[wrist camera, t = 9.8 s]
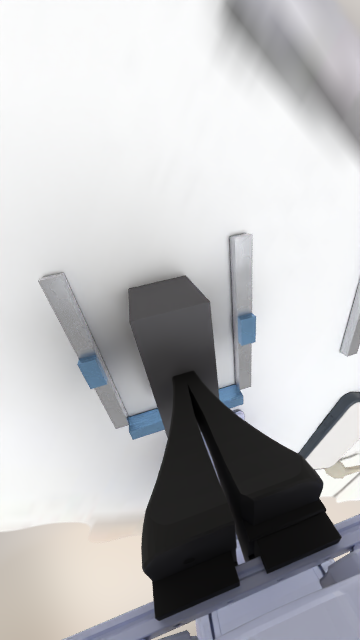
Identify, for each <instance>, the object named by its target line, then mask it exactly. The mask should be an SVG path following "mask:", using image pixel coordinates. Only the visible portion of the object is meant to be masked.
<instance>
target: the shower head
mask: <svg viewBox="0 0 360 640" xmlns="http://www.w3.org/2000/svg"><path fill="white" fill-rule="evenodd" d="M325 471H326V473H327V474H328V475H330V476H331V477H333V478H343V477H344V476H346V475H349V474H352V473H355V472H359V471H360V465H359V466H353V467H346V468H345V467H344V465H343V463H341V462H339V461H338V462H337V463H336V464H335V465H333V466H332V467H329V468H325Z"/></svg>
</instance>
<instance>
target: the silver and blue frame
mask: <svg viewBox="0 0 360 640" xmlns="http://www.w3.org/2000/svg"><path fill="white" fill-rule="evenodd" d="M230 257H231V281H232V304H233V328H234V352H235V376H236V384H235V385H231V386H228V387H225V388H222V389H219V400H220V401H221V402H223V403H224V404H225V405H226V406H227V407H228V408H229V409H230V408H233V407H236V406H239V405H242V404H243V395H242V393H241V391H240V390H242V389H245V388H248V387H251V343H254V342H255V336H256V316H255V315H254V314H252V234H249V233H244V234H240V235H235V236H230ZM38 282H39V284H40V286H41V287H42V289H43V291H44V293H45V295H46V297H47V299H48V301H49V303H50V305H51V306H52V308H53V310H54V312H55V314H56V316H57V318H58V320H59V322H60V324H61V326H62V327H63V329H64V331H65V333H66V335H67V337H68V339H69V341H70V343H71V345H72V346H73V348H74V350H75V352H76V354H77V356H78V358H79V361H78V364H77V365H78V367H79V368H80V370H81V372H82V374H83V376H84V378H85V380H86V381H87V383H88V385H89V387H90V389H93V388H95V390H96V392H97V394H98V396H99V398H100V400H101V402H102V404H103V405H104V407H105V409H106V411H107V413H108V415H109V417H110V419H111V421H112V423H113V424H114V426H115V428H116V429H117V428H120V427H124V426H127V425H129V433H130V435H131V437H132V439H133V440H134V439H137V438H140V437H143V436H146V435H149V434H152V433H155V432H158V431H161V430H165V428H164V425H163V422H162V419H161V416H160V413H159V410H158V408H157V409H154V410H151V411H147V412H144V413H141V414H138V415H134V416H131V417H129V416H128V414H127V412H126V410H125V407H124V405H123V403H122V401H121V398H120V396H119V394H118V392H117V390H116V387H115V385H114V383H113V381H112V379H111V376H110V374H109V372H108V370H107V368H106V365H105V363H104V361H103V359H102V356H101V354H100V352H99V350H98V348H97V345H96V343H95V341H94V339H93V337H92V334H91V332H90V330H89V328H88V325H87V323H86V321H85V319H84V317H83V314H82V312H81V310H80V308H79V306H78V303H77V301H76V299H75V297H74V295H73V292H72V290H71V288H70V286H69V283H68V281H67V279H66V277H65V275H64V273H59V274H55V275H50V276H46V277H42V278H41V279H40V280H39V281H38ZM359 345H360V282H359V285H358V289H357V293H356V296H355V300H354V303H353V307H352V311H351V314H350V318H349V321H348V325H347V328H346V332H345V336H344V339H343V343H342V346H341V350H340V352H341V353H342V354H344V355H345V356H350V355H353V354H356V353H357V351H358V348H359Z"/></svg>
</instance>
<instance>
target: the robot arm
mask: <svg viewBox="0 0 360 640" xmlns="http://www.w3.org/2000/svg"><path fill="white" fill-rule="evenodd" d="M172 381H173V409H172V417H171V425H170V430H169V436H168V441H167V445H166V449H165V453H164V457H163V461H162V464H161V468H160V471H159V474H158V477H157V481H156V484H155V487H154V489H153V492H152V495H151V498H150V500H149V503H148V506H147V509H146V512H145V518H144V524H143V532H142V546H141V549H142V569H143V571H144V573H145V574H146V575H147V576H148V577H149V578H150V579H151V580H152V584H153V596H154V597H153V598H154V601H153V602H150V603H148V604H146V605H143V606H141V607H138V608H136V609H134V610H131V611H129V612H127V613H124V614H122V615H120V616H117V617H115V618H112V619H110V620H108V621H105V622H103V623H101V624H98V625H96V626H94V627H91V628H89V629H86V630H84V631H82V632H79V633H77V634H75V635H72V636H70V637H67V638H65V639H63V640H151V639H153V638H155V637H158V636H160V635H162V634H164V633H167V632H169V631H171V630H173V629H176V628H178V627H180V626H182V625H185V624H187V623H189V622H191V621H193V620H196V629H197V636H190V633H189V632H188V631H187V630H186V631H183V632H180V633H177V634H174V635H171V636H167V637H164V638H162V639H158V640H360V514H359V515H356V516H354V517H352V518H349V519H347V520H344V521H342V522H340V523H337V524H335V525H333V523H332V522H331V520H330V519H329V517H328V516H327V514H326V513H325V512H326V508H325V506H324V505H323V503H322V502H321V500H320V499H319V497H320V494H321V492H322V489H323V481H322V479H321V478H320V477H319V475H318V474H317V472H316V471H315V470H314V469H313V468H312V467H311V465H310V464H309V463H308V462H307V461H306V460H305V459H304V458H303V457H302V456H301V455H300V454H298V453H296V452H294V451H292V450H290V449H288V448H287V447H285V446H283V445H281V444H279V443H278V442H276V441H274V440H273V439H271V438H269V437H268V436H266V435H265V434H263V433H262V432H260V431H259V430H257V429H256V428H254V427H253V426H251V425H250V424H248V423H247V422H246V421H245V416H244V413H243V412H242V411H238V412H235V413H234V412H233V411H232V410H230V409H229V408H228V407H227V406H226V405H225V404H224V403H223V402H221V401H220V400H219V399H218V398H217V397H216V396H215V395H214V394H213V393H212V392H211V391H210V390H209V388H208V387H207V386H206V385H205V384H204V383H203V382H202V380H201V379H200V378H199V377H198V375H197V374H196V372H195V371H190V372H187V373H183V374H180V375H177V376H173V378H172ZM197 423H198V424H197ZM199 428H200V429H199ZM200 430H201V432H200ZM349 551H350V553H349V554H347V555H346V556H344V557H342V558H341V559H339V560H338V561H336V562H335V561H334V560H333V558H335V557H338V556H340V555H342V554H344V553H346V552H349Z"/></svg>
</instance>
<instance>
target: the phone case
mask: <svg viewBox="0 0 360 640" xmlns="http://www.w3.org/2000/svg"><path fill="white" fill-rule="evenodd" d="M359 439H360V392H350V393H347V394H345V395H344V396H343V397H341V399H340V400H339V401H338V402H337V404H336V405H335V406H334V408H333V409H332V410H331V411H330V413H329V414H328V415H327V417H326V418H325V419H324V421H323V422H322V423H321V424H320V426H319V427H318V428H317V430H316V431H315V432H314V434H313V435H312V436H311V438H310V439H309V440H308V442H307V443H306V444H305V445H304V447H303V448H302V449H301V451H300V452H299V453H298V454H300V455H301V456H302V457H303V458H304V459H305V460H306V461H307V462H308V463H309V464H310V465H311V467H312V468H313V469H314V470H318V469H325V468H329V467H332V466H333V465H335V464H336V463H337V462H338V461H339V460H340V458H341V457H342V456H343V455H344V454H345V453H346V452H347V451H348V450H349V449H350V448H351V447H352V446H353V445H354V444H355V443H356V442H357V441H358V440H359Z"/></svg>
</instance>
